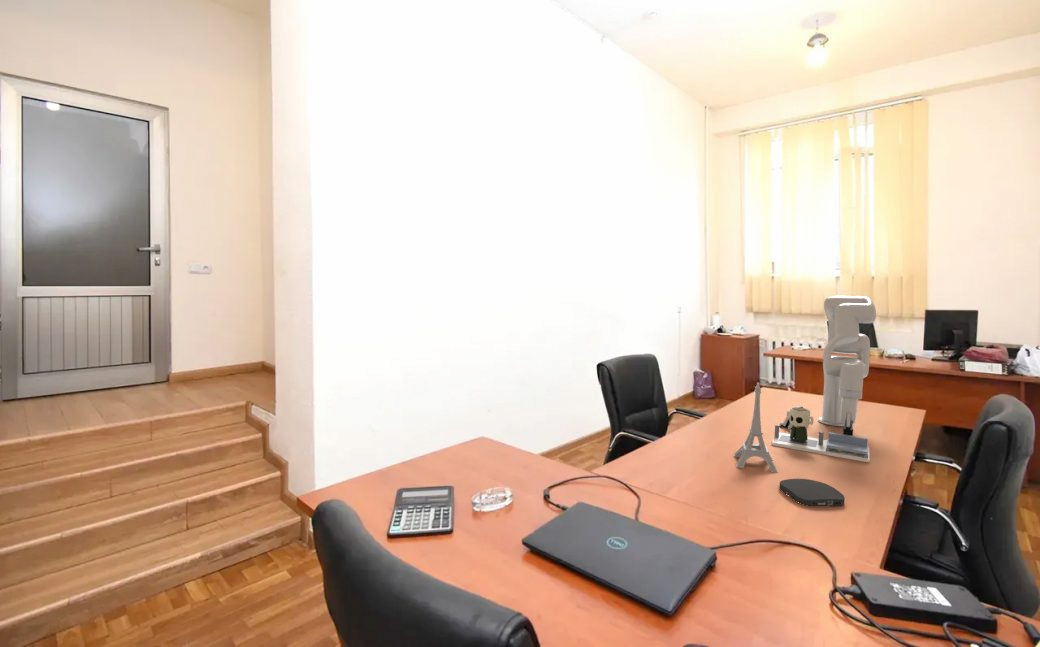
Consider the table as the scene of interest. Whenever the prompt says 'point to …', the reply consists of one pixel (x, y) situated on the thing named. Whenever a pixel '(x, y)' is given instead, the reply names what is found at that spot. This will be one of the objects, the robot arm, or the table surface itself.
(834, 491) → the media streaming box
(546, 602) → the table surface
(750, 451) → the eiffel tower
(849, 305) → the robot arm
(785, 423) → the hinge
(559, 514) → the table surface
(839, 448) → the cover
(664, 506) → the table surface
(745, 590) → the table surface
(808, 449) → the board
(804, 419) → the character mug
